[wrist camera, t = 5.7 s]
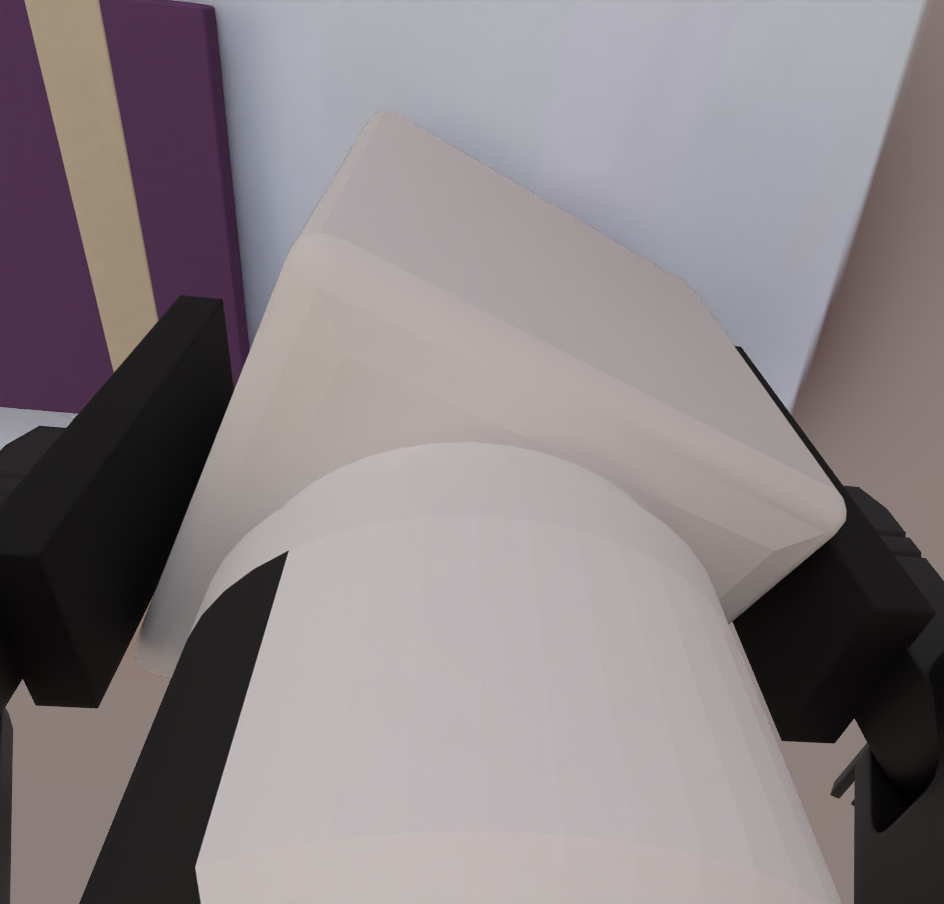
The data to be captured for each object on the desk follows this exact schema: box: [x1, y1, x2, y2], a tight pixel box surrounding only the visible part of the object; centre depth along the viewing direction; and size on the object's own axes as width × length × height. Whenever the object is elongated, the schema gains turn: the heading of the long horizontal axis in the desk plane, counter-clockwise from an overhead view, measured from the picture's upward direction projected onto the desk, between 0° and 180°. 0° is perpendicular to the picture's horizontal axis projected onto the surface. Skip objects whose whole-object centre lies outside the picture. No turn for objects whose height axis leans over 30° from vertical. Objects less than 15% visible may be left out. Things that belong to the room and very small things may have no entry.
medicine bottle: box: [79, 110, 846, 904], centre depth 9 cm, size 7×7×12 cm
